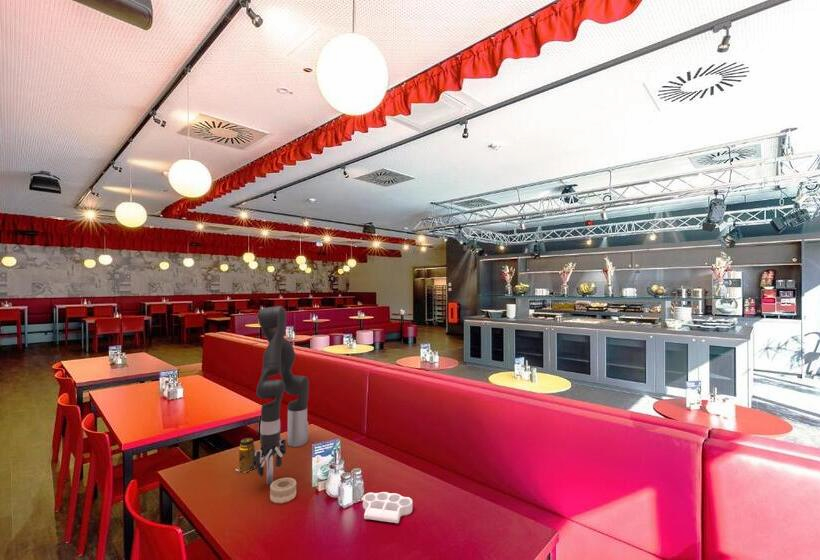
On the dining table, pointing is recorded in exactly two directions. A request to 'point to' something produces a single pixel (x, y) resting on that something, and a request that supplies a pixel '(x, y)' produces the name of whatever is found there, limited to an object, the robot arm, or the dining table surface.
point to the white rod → (270, 470)
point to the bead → (283, 490)
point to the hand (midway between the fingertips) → (269, 470)
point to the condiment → (246, 454)
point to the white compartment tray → (386, 506)
